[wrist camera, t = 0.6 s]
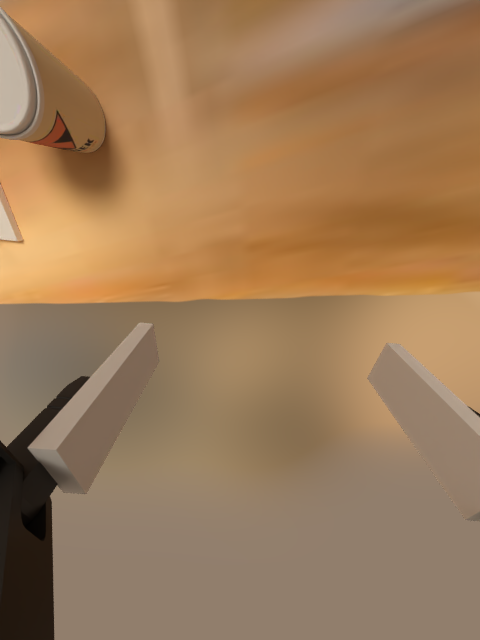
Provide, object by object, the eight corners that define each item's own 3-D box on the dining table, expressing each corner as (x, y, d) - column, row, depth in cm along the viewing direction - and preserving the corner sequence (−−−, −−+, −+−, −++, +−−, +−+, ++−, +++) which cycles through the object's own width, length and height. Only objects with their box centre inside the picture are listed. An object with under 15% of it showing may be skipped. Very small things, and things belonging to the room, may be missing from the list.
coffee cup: (58, 161, 30) (-45, 137, 19) (23, 65, 25) (-138, -36, 14) (121, 160, 29) (52, 135, 19) (98, 63, 25) (-11, -41, 14)
